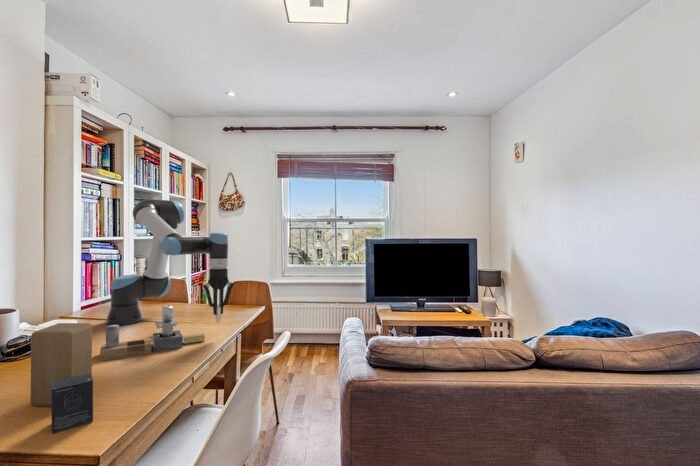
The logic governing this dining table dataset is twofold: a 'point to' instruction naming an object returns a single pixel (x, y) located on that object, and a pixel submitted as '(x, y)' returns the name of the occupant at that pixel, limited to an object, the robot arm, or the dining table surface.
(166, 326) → the grey metal bar
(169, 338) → the socket
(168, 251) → the robot arm
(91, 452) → the dining table surface
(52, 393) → the box
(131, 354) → the rack
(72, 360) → the block
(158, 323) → the pipe connector
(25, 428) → the dining table surface
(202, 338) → the olive rectangular bar
